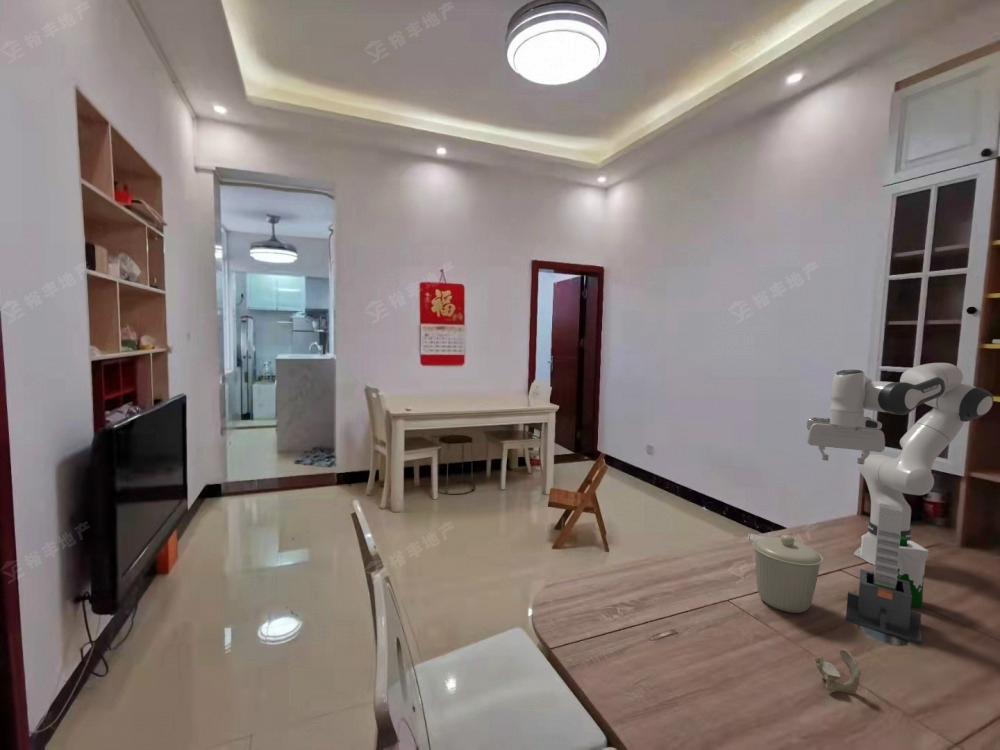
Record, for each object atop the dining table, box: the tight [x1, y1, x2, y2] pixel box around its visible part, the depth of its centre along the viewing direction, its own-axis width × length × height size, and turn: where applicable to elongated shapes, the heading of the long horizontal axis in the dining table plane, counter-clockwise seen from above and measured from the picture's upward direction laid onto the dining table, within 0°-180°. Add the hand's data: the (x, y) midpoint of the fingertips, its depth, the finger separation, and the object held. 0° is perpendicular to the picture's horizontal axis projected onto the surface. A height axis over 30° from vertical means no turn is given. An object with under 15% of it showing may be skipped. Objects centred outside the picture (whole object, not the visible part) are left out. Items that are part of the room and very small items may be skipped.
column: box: [873, 504, 902, 590], centre depth 129 cm, size 6×5×24 cm
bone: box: [814, 648, 862, 695], centre depth 103 cm, size 9×6×10 cm
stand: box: [845, 568, 923, 645], centre depth 130 cm, size 16×16×11 cm
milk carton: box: [897, 536, 930, 609], centre depth 140 cm, size 9×9×20 cm
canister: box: [751, 534, 824, 614], centre depth 136 cm, size 18×18×21 cm
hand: (842, 462), depth 147 cm, fingers open, 8 cm apart
